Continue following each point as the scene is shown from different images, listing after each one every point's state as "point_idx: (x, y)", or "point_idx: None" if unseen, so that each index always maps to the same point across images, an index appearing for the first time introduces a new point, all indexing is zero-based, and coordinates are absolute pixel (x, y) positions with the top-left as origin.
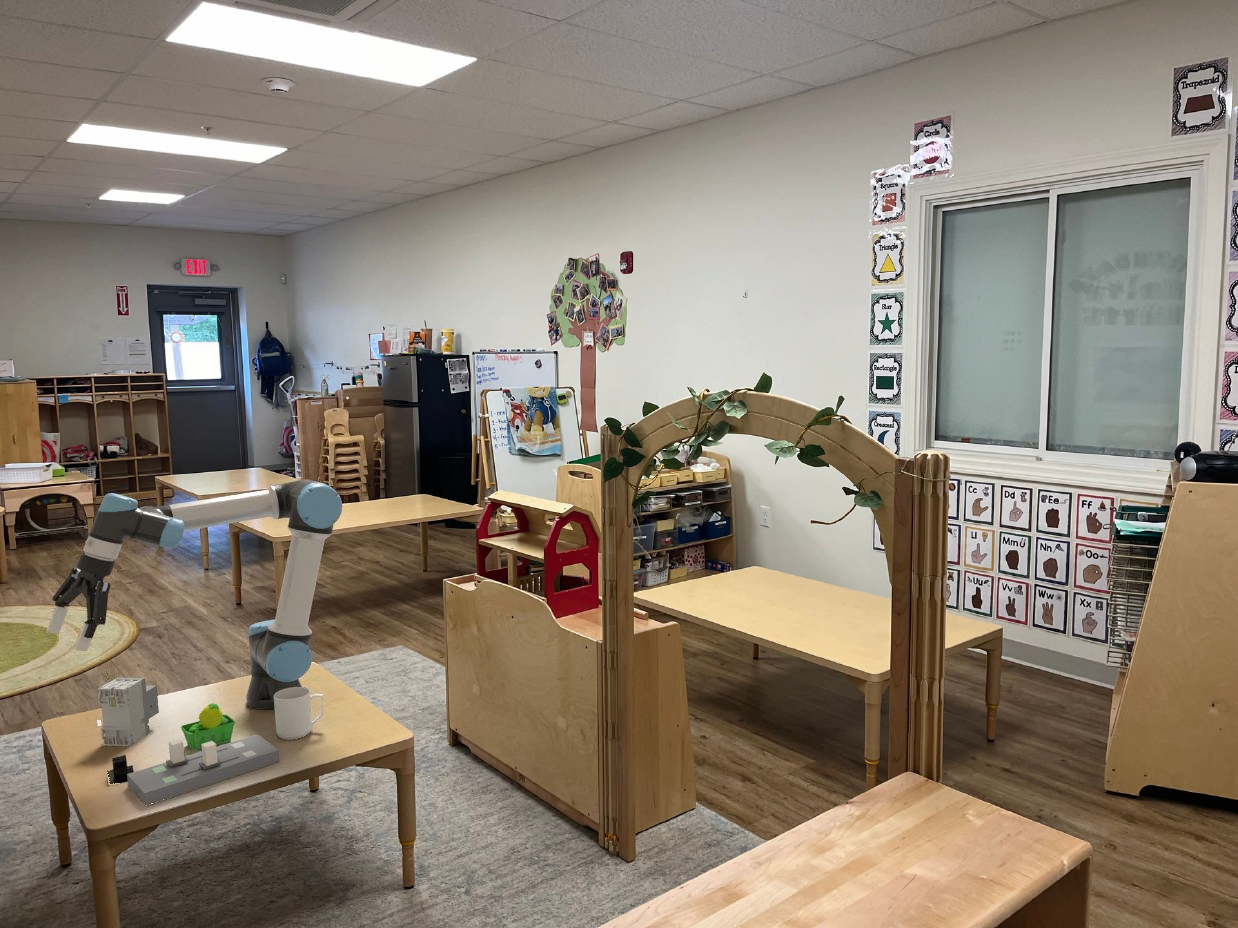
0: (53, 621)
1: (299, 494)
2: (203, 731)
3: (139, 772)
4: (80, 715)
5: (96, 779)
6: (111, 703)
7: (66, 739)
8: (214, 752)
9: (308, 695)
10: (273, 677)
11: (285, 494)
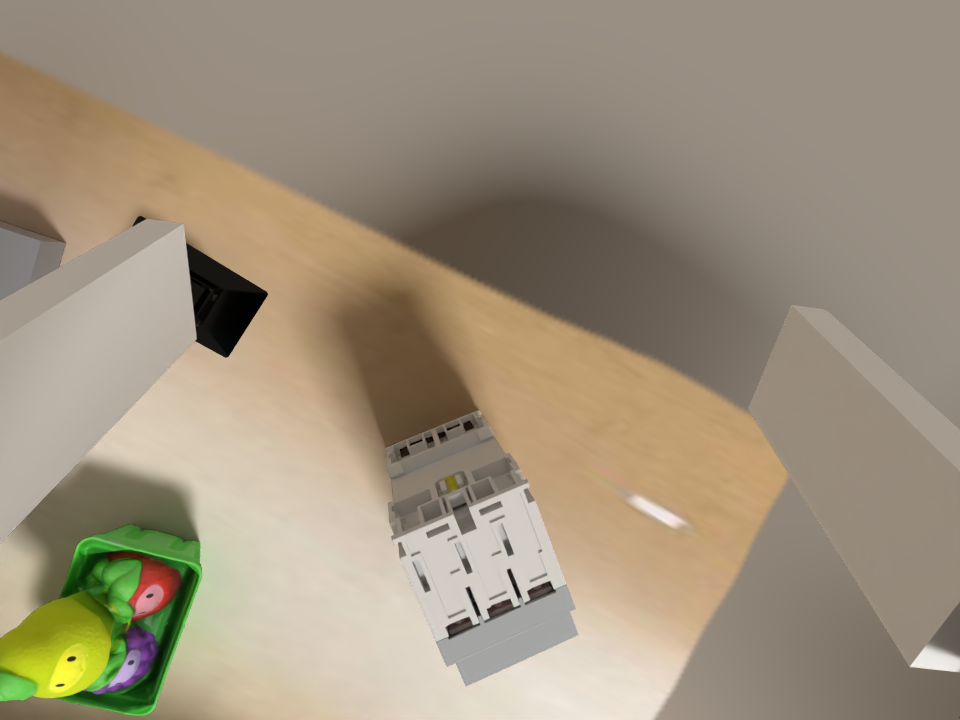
0: (853, 393)
1: None
2: (66, 579)
3: (8, 269)
4: (765, 516)
5: (232, 233)
6: (456, 479)
7: (633, 384)
8: None
9: None
10: None
11: None
